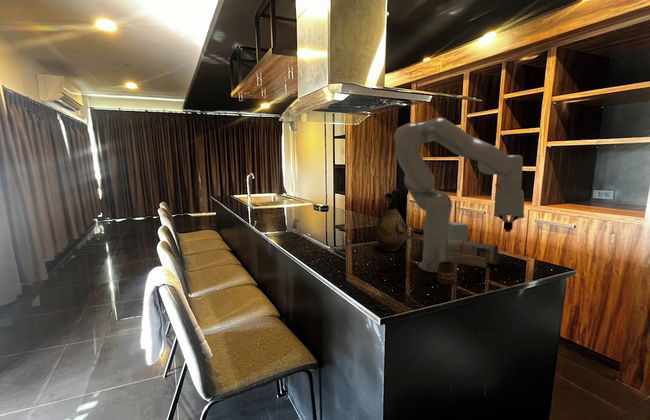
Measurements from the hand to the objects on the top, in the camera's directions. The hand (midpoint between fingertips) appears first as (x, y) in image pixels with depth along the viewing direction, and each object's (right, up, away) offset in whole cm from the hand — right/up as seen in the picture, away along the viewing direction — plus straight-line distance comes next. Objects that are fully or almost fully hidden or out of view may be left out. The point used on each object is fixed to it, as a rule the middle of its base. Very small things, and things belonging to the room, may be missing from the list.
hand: (507, 231), depth 128 cm
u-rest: (-14, -13, +12) cm, 23 cm away
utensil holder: (-31, -18, -14) cm, 38 cm away
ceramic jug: (-41, -11, +31) cm, 53 cm away
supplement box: (-8, -11, +30) cm, 33 cm away
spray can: (-3, -10, +2) cm, 11 cm away
